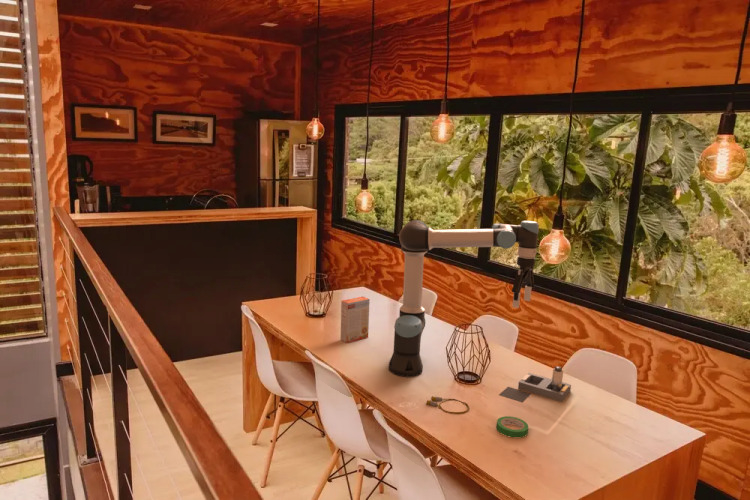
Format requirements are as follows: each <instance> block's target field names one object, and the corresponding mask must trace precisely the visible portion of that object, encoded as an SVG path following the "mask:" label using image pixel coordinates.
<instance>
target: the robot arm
mask: <svg viewBox="0 0 750 500" xmlns="http://www.w3.org/2000/svg"><path fill="white" fill-rule="evenodd" d="M539 226H540V225H539V223H538V222H537V221H533V220H532V221H531V220H522V221H521V222H520V224H518V225H516V224H507V223H505V224H504V223H493V224H492V226H491V228H472V229H471V228H469V229H468V228H465V229H464V228H463V229H462V228H461V229H459V228H458V229H455V228H453V229H452V228H451V229H433V228H431V227H429V226H427V224H426V223H425V222H423V221H421V220H417V219H413V220H410V221H408V222H407V223H405V224H404V226H403V227H402V229H401V230H400V232H399V236H398V237H399V238H398V239H399V243H400V245H401V252H403V254H404V266H403V269H404V271H403V294H402V297H403V299H402V305H401V306H400V307H399V311H398V312H399V315H398V317H397V318H396V320H394V321H395V322H394V334H393V335H394V336H393V351H392V354H391V358H389V359H390V360H389V362H388V371H389V372H390V373H391V374H394V375H396V376H399V377H416V376H419V375H421V374H422V373H423V372H424V371H423V361H422V358H421V340H422V334H423V332H424V330H425V326H426V317H425V313H426V309H425V308H424V307H423V286H424V285H423V282H424V263H425V262H424V259H425V258H424V256H425V254H427V252H428V251H431V250H432V249H434V248H438V249H439V248H490V247H491V248H501V249H505V250H506V249H507V250H508V249H511V248H512V247H514V245H515V244H516V243H518V247H517V248H518V250H517V258H516V259H517V260H516V265H517V266H518V267H519V269H516V273H515V278H514V281H513V286H512V289H511V293H513V297H512V305H511V306H512V308H516V309H519V308H520V304H521V303H520V301H521V290H522V287H523V285H524V282H525V286H524V295H523V301H527V302H531V296H532V288H534V286H535V279H534V267H535V265H536V258H535V257H536V254H537V253H538V250H537V245H538V237H539Z"/></svg>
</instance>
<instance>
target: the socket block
mask: <svg viewBox="0 0 750 500" xmlns="http://www.w3.org/2000/svg"><path fill="white" fill-rule="evenodd" d="M551 383H552V378H549V377H545V376H543V375H542V376H541V375H538V374H534V373H531V372H528V373H527V374H526V375H524V377H522V378H521V379H520V380H519V381H518V385H517V386H518V387H517V389H518V390H521V391H524V392H527V393H531V394H535V395H538V396H541V397H545V398H547V399H551V400H554V401H557V402H560V403H561V402H563V400H565V398H566V397H567V396H568V395H570V394H569V393H570V392H571V389H572V384H571V383H566V382H563V381H562V387H561V391H560V392H557V391H553V390H551Z"/></svg>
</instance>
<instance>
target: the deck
mask: <svg viewBox="0 0 750 500" xmlns="http://www.w3.org/2000/svg"><path fill="white" fill-rule="evenodd" d="M531 395H532V393H531V392H527V391H524V390H521V389H518V388H514V387H510V386H507V387H506V388H505V389H503V390H502V391H501V392H500V393H499V394H498V396H500V397H504V398H506V399H510V400H513V401H517V402H519V403H524V401H526V400H527V399H528V397H530V396H531Z"/></svg>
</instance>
